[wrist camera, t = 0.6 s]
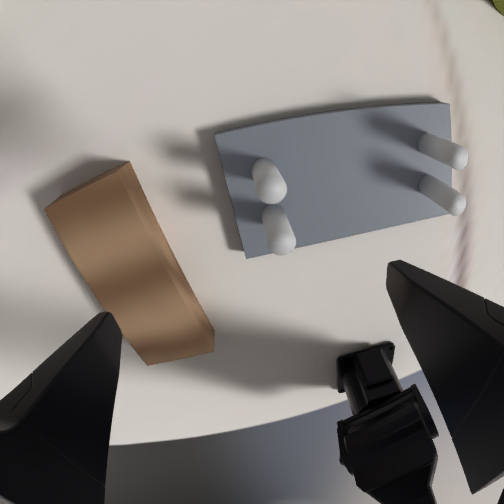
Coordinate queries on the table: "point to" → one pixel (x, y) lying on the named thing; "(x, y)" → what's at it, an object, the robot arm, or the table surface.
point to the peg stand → (339, 174)
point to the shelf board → (131, 266)
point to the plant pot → (499, 5)
